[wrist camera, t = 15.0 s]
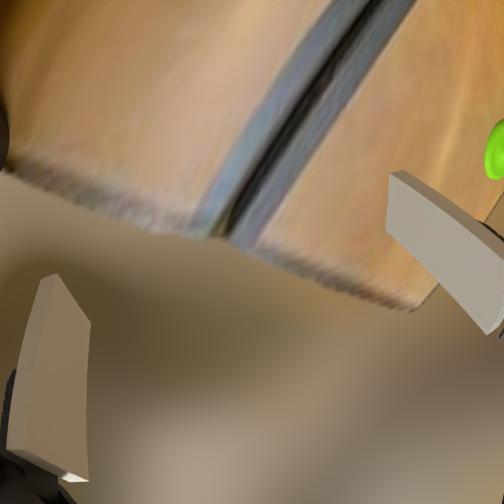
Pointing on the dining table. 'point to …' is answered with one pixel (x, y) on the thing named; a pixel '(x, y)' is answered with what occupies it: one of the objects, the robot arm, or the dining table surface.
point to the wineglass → (495, 152)
